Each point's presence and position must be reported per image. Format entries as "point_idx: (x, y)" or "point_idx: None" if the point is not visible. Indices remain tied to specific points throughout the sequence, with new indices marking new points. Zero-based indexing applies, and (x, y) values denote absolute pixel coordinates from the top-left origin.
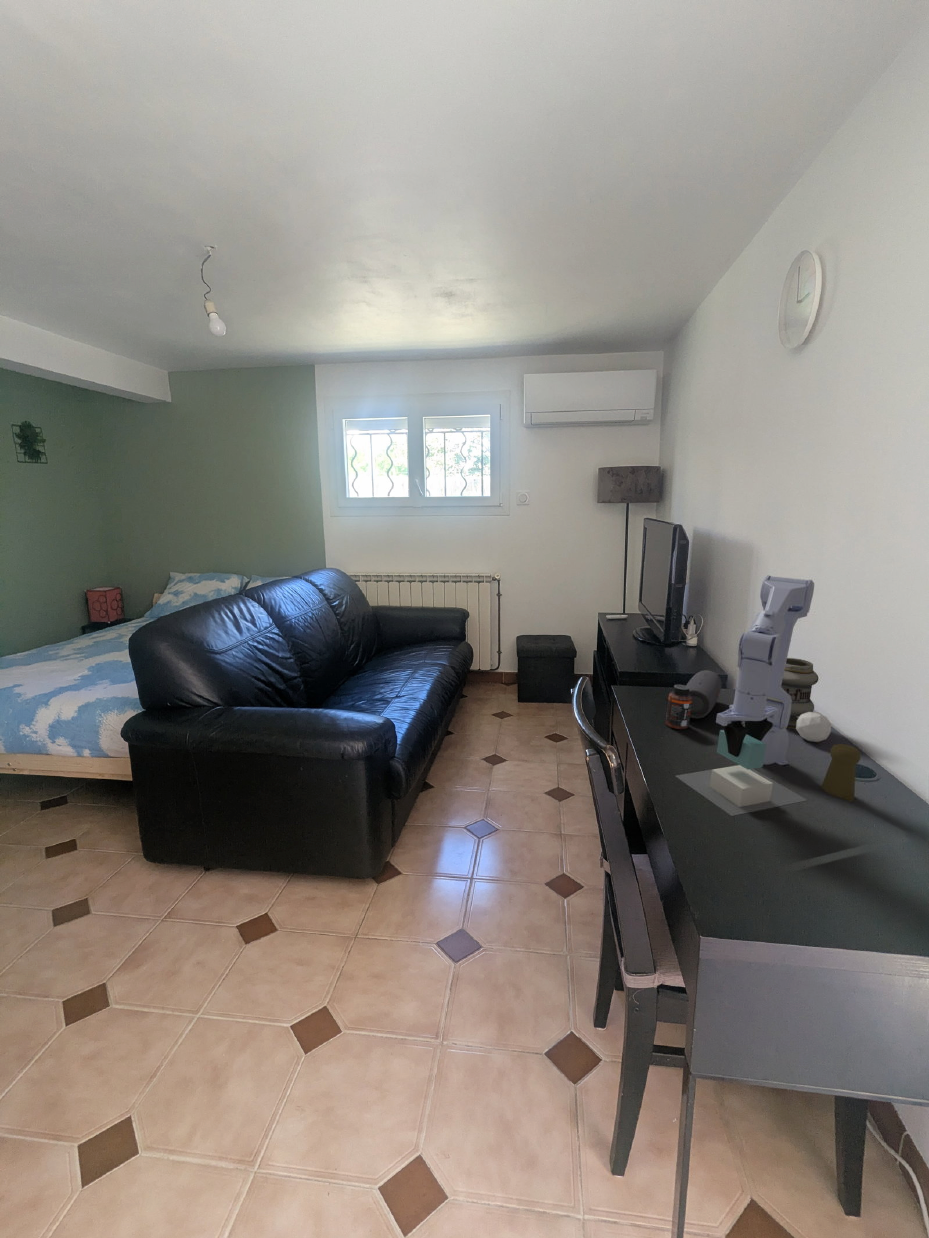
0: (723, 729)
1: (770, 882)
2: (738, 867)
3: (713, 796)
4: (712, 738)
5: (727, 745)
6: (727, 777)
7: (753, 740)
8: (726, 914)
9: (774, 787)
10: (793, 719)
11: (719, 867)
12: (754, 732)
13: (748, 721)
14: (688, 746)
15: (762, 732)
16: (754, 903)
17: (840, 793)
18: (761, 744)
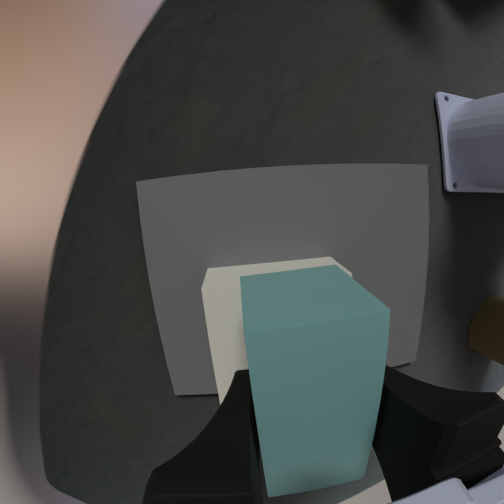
0: (186, 447)
1: (143, 487)
2: (114, 464)
3: (183, 318)
4: (432, 11)
5: (229, 388)
6: (221, 348)
7: (341, 458)
8: (69, 485)
9: (399, 303)
10: None
11: (87, 455)
12: (391, 449)
13: (423, 451)
14: (338, 9)
15: (391, 489)
16: (105, 492)
17: (480, 352)
18: (338, 482)
